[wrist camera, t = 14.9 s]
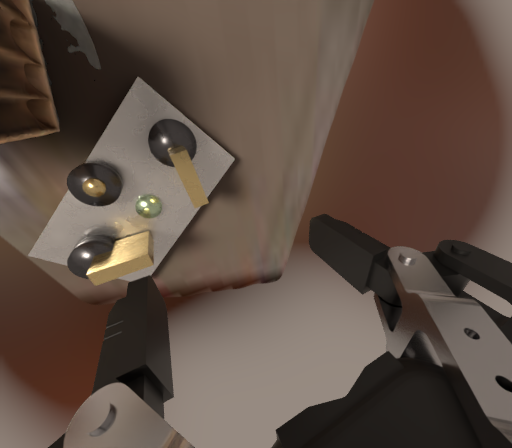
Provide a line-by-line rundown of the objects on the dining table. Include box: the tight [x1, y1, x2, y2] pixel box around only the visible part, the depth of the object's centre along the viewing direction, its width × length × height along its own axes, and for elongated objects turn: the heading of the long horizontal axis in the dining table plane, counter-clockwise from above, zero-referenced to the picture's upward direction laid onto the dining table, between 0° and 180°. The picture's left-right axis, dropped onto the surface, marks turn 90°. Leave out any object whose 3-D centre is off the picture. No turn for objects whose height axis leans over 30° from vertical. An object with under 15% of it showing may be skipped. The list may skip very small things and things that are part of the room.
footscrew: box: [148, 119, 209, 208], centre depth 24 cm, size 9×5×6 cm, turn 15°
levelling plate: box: [28, 77, 235, 281], centre depth 26 cm, size 14×25×5 cm, turn 138°
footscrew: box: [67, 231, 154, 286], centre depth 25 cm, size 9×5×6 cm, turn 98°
